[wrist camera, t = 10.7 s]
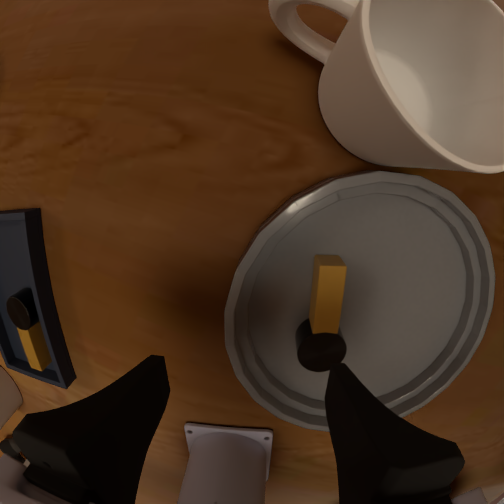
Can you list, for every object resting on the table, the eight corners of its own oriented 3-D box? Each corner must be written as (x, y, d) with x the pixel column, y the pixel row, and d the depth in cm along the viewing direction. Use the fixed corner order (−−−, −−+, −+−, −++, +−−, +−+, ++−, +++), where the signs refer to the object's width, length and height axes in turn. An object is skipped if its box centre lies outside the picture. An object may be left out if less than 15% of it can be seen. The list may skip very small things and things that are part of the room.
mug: (237, 87, 17) (200, 9, 7) (303, -3, 14) (322, -105, 5) (398, 191, 18) (502, 222, 8) (449, 98, 16) (553, 71, 6)
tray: (76, 377, 24) (66, 389, 22) (16, 358, 24) (6, 367, 22) (40, 207, 19) (24, 212, 18) (-19, 212, 20) (-33, 216, 18)
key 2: (301, 253, 19) (305, 265, 17) (351, 255, 19) (360, 266, 16) (293, 353, 21) (295, 372, 19) (336, 353, 21) (342, 371, 19)
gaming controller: (63, 482, 32) (49, 499, 28) (44, 470, 35) (31, 485, 31) (19, 437, 30) (2, 454, 25) (5, 427, 32) (-10, 442, 28)
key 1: (60, 361, 23) (48, 374, 21) (37, 354, 23) (25, 366, 21) (40, 289, 21) (24, 299, 19) (17, 285, 21) (2, 294, 19)
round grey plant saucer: (437, 397, 22) (448, 416, 20) (232, 407, 23) (228, 431, 21) (491, 188, 17) (514, 193, 14) (230, 163, 18) (223, 162, 15)
